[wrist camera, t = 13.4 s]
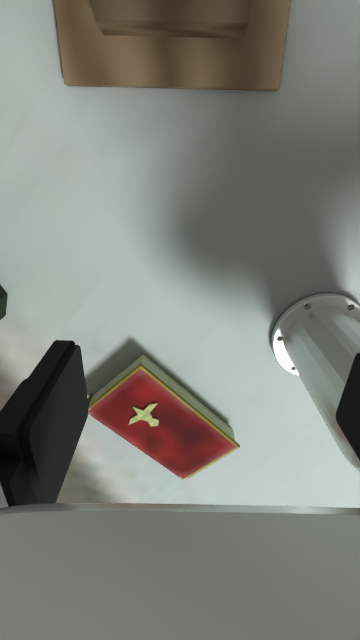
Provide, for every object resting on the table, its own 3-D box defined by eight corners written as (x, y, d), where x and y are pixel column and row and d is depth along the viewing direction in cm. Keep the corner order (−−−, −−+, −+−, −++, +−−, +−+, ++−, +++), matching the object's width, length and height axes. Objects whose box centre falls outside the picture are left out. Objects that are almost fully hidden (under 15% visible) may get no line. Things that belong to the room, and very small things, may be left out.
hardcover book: (182, 461, 55) (182, 483, 51) (89, 393, 48) (81, 413, 44) (235, 427, 51) (240, 448, 47) (143, 348, 44) (139, 366, 40)
